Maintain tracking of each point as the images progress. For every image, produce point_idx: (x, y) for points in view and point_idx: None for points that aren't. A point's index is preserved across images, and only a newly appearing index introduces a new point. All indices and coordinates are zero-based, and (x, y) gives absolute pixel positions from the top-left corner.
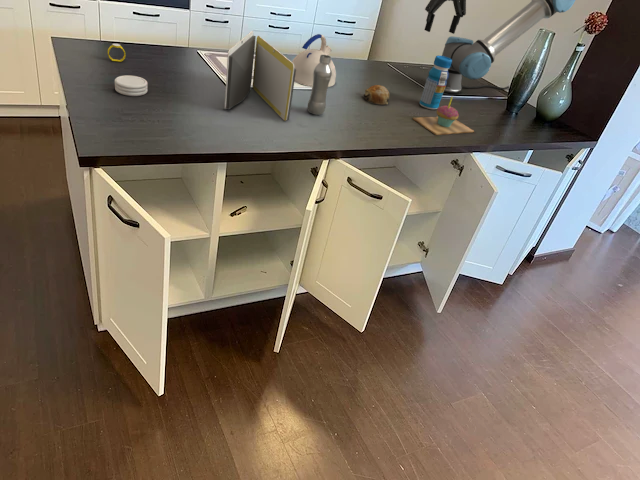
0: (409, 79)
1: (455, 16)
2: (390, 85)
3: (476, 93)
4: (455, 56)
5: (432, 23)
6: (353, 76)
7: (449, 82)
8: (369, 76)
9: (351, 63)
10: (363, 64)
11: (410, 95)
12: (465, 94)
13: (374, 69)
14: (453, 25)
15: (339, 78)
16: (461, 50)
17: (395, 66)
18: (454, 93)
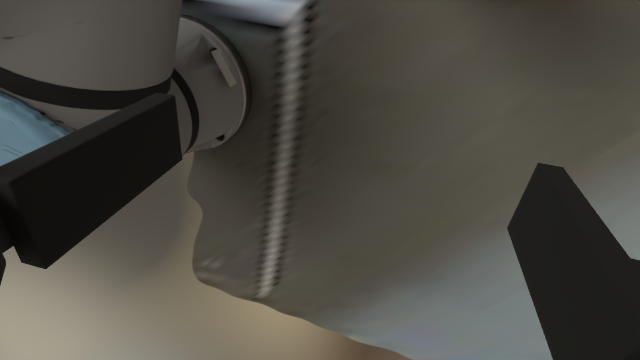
0: (287, 185)
1: (42, 232)
2: (437, 159)
3: None
4: (155, 57)
5: (574, 222)
6: None
7: (196, 48)
8: (446, 242)
9: (406, 327)
10: (365, 312)
11: (443, 48)
12: None
13: (360, 277)
14: (129, 156)
15: None
16: (104, 42)
17: (250, 275)
18: (187, 16)
